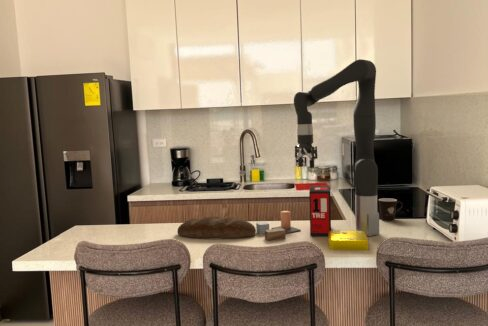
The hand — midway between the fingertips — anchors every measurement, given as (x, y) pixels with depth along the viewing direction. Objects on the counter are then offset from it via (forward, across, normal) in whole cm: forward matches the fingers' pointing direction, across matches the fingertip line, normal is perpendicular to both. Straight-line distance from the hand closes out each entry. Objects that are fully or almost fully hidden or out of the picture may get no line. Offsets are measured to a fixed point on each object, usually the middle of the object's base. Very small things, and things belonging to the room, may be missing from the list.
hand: (306, 167), depth 201 cm
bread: (+28, -10, -45) cm, 54 cm away
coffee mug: (+29, +19, +37) cm, 51 cm away
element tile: (+29, +36, -9) cm, 47 cm away
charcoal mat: (+28, +2, -15) cm, 32 cm away
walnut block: (+28, +11, -28) cm, 41 cm away
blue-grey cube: (+28, 0, -26) cm, 38 cm away
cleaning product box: (+28, +15, -5) cm, 32 cm away
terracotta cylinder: (+27, +3, -15) cm, 31 cm away
